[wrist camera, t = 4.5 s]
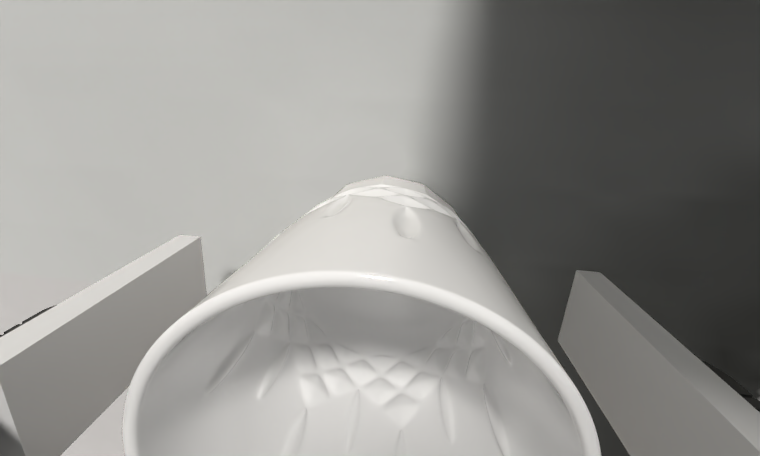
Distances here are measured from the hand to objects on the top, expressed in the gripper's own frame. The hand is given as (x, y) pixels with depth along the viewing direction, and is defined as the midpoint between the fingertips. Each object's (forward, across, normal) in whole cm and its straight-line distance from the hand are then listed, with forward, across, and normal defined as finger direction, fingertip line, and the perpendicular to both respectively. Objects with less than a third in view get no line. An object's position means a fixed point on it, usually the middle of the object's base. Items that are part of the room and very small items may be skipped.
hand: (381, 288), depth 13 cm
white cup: (+3, 0, 0) cm, 3 cm away
